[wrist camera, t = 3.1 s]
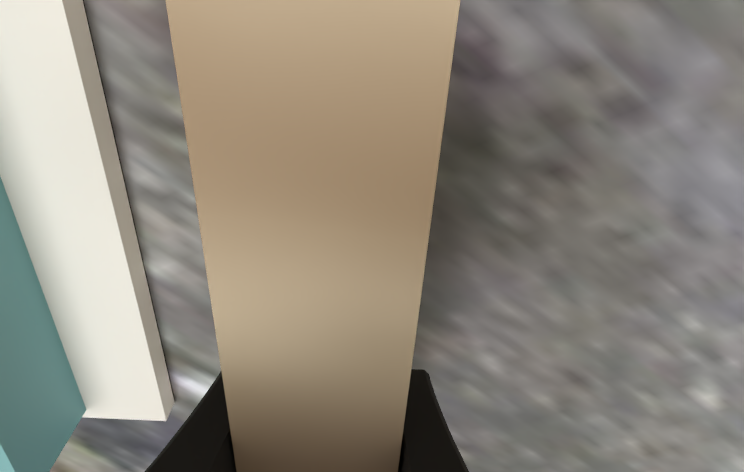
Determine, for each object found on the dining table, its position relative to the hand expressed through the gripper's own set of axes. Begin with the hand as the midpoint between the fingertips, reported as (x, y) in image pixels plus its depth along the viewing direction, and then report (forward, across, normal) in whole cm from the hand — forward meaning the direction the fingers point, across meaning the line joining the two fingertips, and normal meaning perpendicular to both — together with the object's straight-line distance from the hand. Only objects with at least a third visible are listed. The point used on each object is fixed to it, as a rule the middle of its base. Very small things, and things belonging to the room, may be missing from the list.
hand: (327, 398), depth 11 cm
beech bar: (+2, 0, 0) cm, 2 cm away
